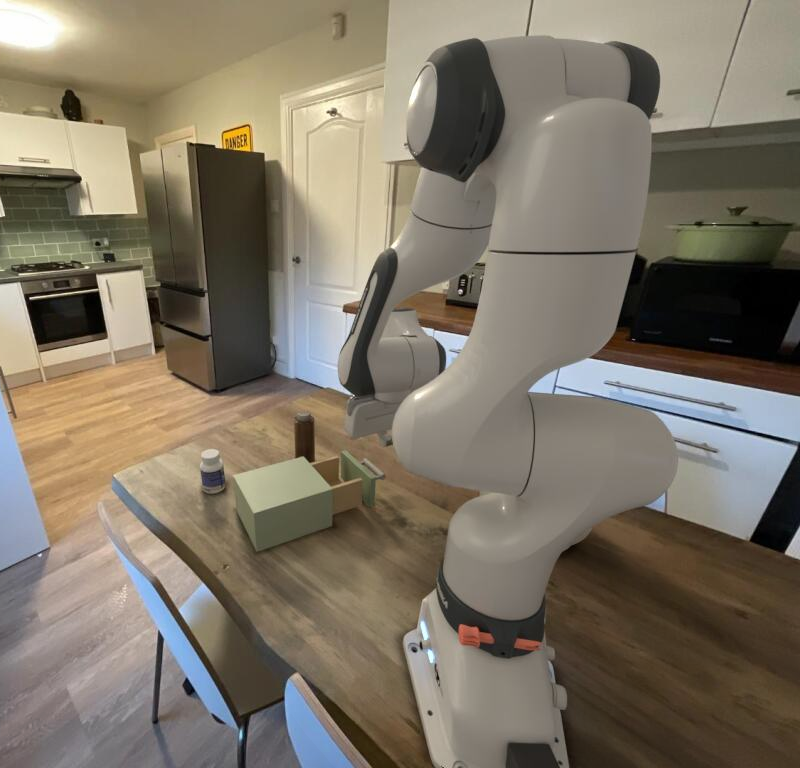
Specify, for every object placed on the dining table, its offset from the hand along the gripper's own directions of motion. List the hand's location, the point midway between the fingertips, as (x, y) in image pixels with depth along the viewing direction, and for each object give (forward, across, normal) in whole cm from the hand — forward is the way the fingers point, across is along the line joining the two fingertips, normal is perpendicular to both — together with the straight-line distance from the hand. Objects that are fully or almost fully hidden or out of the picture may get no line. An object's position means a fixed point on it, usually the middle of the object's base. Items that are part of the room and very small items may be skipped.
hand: (387, 444), depth 88 cm
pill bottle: (+10, -35, +16) cm, 40 cm away
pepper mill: (+10, -13, +15) cm, 22 cm away
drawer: (+9, -12, 0) cm, 15 cm away
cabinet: (+10, -25, 0) cm, 27 cm away
